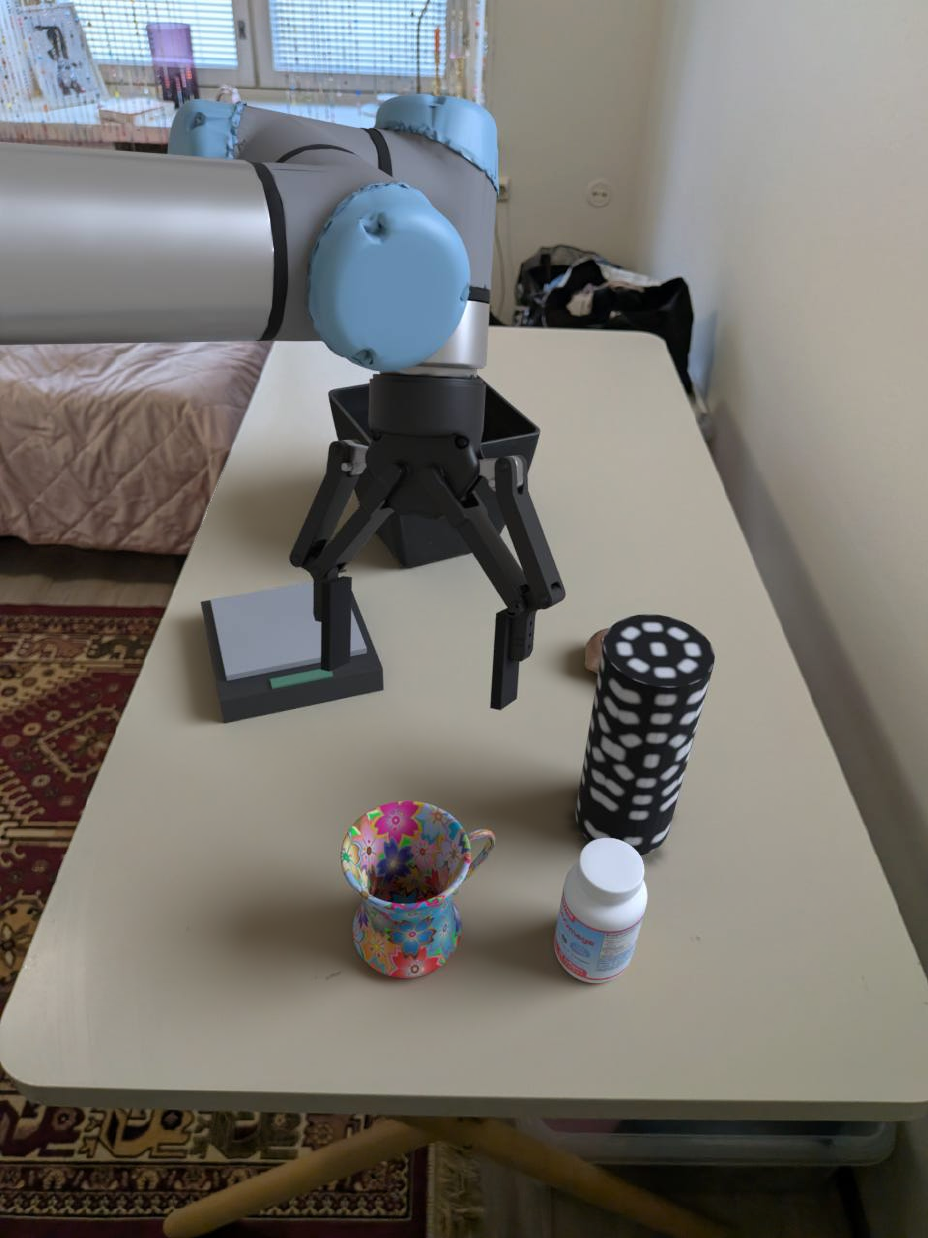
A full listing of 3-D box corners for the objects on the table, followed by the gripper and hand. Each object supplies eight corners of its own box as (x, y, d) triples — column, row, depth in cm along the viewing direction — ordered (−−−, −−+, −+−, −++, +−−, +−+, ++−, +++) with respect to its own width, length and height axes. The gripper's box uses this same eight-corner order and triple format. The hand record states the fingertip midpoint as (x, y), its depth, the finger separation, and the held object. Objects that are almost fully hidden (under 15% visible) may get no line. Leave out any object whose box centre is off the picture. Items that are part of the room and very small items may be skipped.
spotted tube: (677, 857, 79) (726, 688, 66) (581, 856, 79) (611, 687, 66) (660, 782, 86) (701, 614, 73) (570, 781, 85) (596, 613, 73)
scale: (224, 723, 90) (218, 695, 87) (204, 622, 101) (199, 595, 99) (383, 690, 94) (382, 662, 92) (347, 596, 106) (345, 570, 103)
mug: (376, 1009, 68) (371, 929, 61) (330, 910, 74) (321, 827, 67) (517, 943, 72) (527, 861, 66) (463, 855, 79) (467, 772, 72)
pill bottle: (540, 930, 73) (553, 842, 66) (608, 906, 75) (627, 818, 68) (575, 998, 69) (593, 912, 62) (646, 971, 71) (671, 885, 64)
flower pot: (464, 479, 126) (468, 362, 115) (533, 553, 113) (545, 429, 102) (333, 510, 119) (324, 389, 109) (390, 592, 106) (386, 464, 96)
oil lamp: (572, 698, 95) (649, 717, 93) (575, 673, 92) (655, 692, 90) (590, 636, 101) (663, 653, 99) (593, 611, 98) (669, 627, 96)
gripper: (632, 383, 57) (602, 704, 63) (305, 364, 68) (303, 640, 74) (592, 381, 51) (562, 739, 57) (237, 361, 62) (241, 664, 67)
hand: (415, 684), depth 65 cm, fingers open, 13 cm apart
